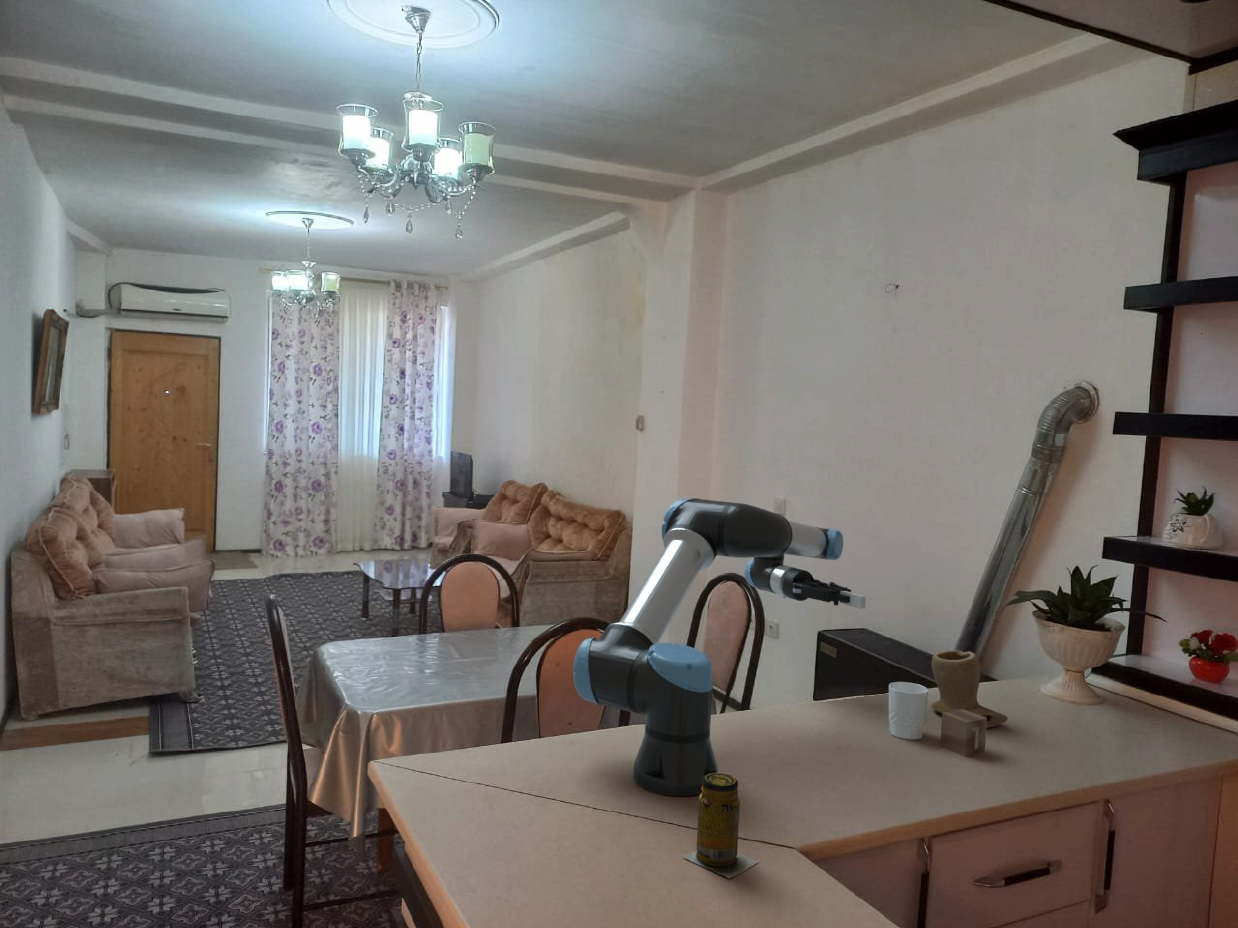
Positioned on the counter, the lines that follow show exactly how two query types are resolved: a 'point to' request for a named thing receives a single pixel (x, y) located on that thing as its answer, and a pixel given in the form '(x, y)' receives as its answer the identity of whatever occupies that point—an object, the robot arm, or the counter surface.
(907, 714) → the white cup
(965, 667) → the stone cup
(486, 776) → the counter surface
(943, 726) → the marked walnut block
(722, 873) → the condiment
